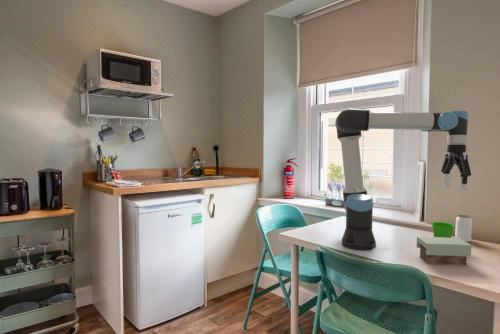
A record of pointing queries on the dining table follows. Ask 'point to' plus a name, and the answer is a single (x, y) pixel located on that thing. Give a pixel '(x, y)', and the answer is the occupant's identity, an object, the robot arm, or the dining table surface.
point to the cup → (442, 229)
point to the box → (441, 258)
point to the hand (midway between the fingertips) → (454, 189)
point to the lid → (444, 246)
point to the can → (463, 228)
